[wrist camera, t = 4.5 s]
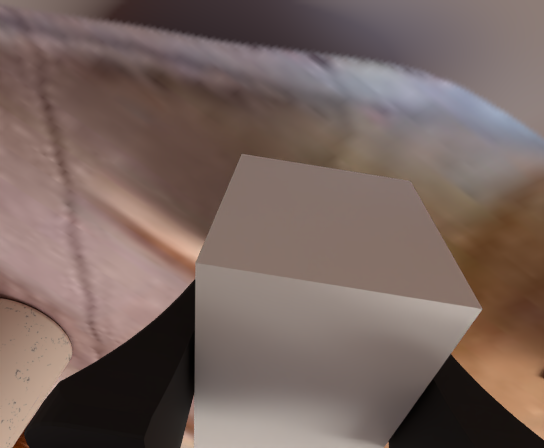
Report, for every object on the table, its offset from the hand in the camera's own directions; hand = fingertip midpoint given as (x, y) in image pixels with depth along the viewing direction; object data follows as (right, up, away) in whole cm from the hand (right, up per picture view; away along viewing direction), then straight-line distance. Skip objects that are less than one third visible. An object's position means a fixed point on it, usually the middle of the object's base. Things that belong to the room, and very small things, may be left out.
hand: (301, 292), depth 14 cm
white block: (0, +1, +1) cm, 2 cm away
